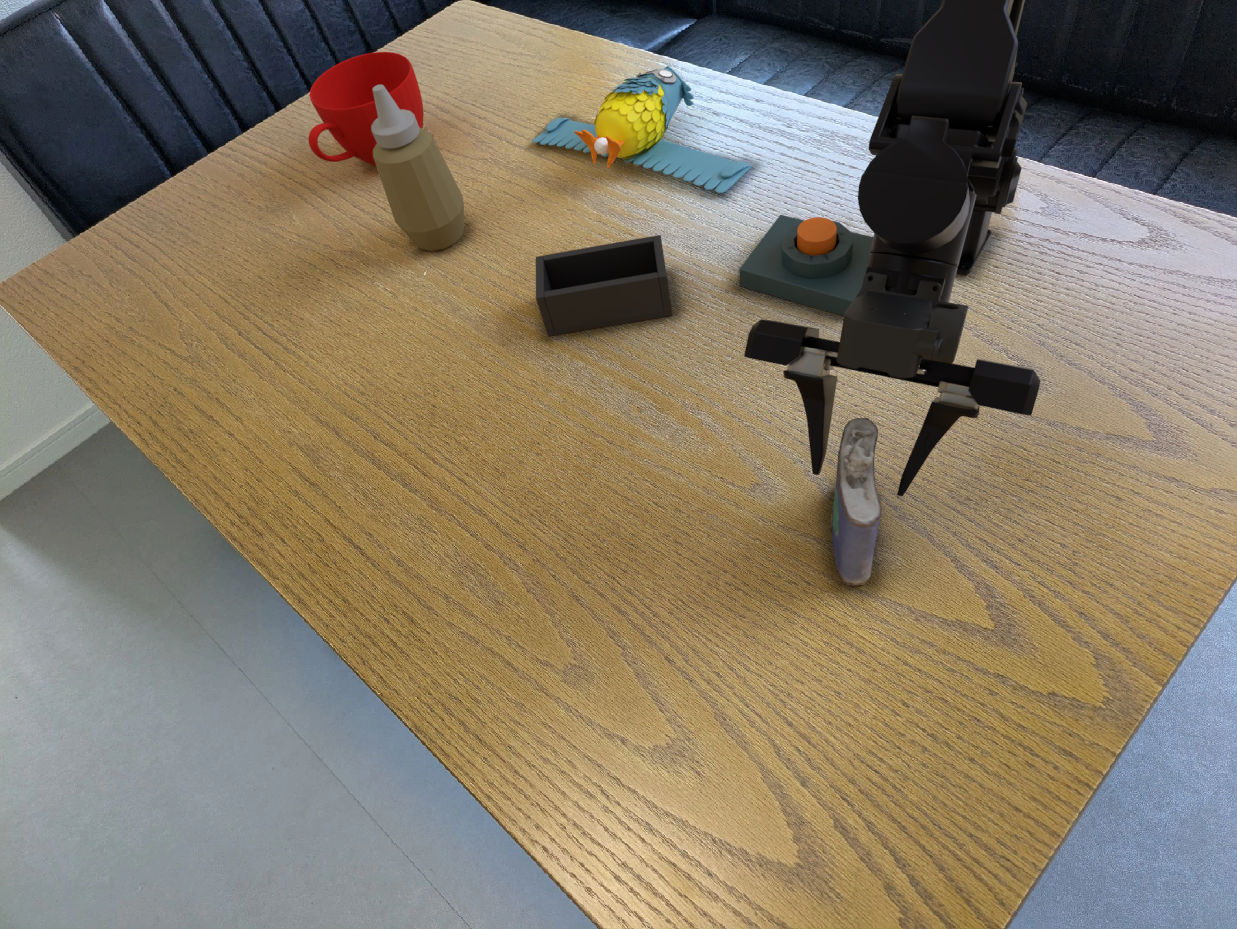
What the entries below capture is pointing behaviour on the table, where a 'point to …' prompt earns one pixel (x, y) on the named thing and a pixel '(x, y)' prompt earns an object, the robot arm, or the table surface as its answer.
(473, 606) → the table surface
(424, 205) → the squeeze bottle
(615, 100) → the owl figurine
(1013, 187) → the robot arm
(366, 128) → the ceramic cup
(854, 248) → the panel
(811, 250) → the button
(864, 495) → the flask
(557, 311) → the box
